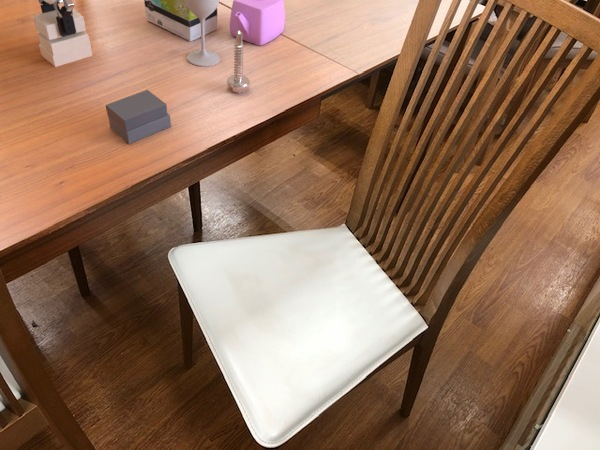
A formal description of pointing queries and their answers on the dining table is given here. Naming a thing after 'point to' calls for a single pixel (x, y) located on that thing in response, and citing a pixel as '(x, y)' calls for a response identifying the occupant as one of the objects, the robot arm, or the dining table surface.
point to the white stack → (65, 48)
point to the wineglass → (202, 32)
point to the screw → (238, 67)
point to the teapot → (257, 20)
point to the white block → (55, 24)
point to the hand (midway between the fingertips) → (60, 27)
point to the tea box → (178, 18)
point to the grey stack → (138, 116)
